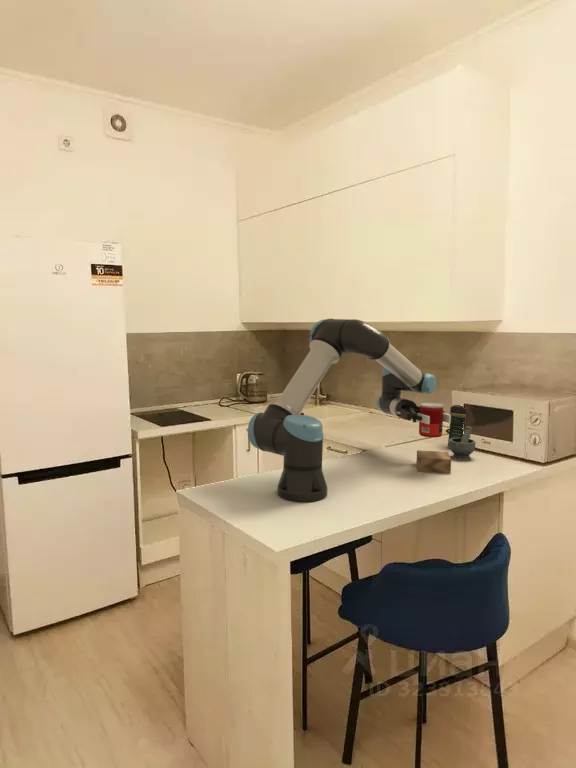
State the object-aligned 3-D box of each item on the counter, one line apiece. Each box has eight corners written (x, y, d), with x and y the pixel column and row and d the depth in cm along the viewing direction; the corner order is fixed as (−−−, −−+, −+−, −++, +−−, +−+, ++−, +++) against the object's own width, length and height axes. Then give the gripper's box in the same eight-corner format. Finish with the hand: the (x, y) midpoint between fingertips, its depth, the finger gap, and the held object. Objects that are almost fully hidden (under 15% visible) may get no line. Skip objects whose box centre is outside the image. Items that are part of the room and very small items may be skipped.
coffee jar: (464, 451, 220) (466, 406, 218) (445, 448, 225) (447, 404, 223) (472, 447, 228) (475, 403, 225) (454, 444, 233) (456, 401, 230)
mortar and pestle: (466, 462, 203) (468, 431, 201) (443, 457, 209) (445, 427, 208) (480, 457, 211) (481, 427, 209) (457, 452, 217) (459, 423, 216)
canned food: (444, 437, 187) (446, 406, 186) (421, 437, 187) (422, 406, 186) (438, 433, 195) (440, 402, 193) (416, 432, 195) (417, 402, 193)
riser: (418, 471, 190) (418, 457, 189) (416, 463, 200) (416, 450, 200) (450, 473, 188) (451, 459, 187) (447, 465, 198) (447, 451, 198)
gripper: (426, 416, 211) (463, 428, 190) (379, 419, 204) (412, 432, 183) (427, 397, 210) (465, 407, 189) (380, 400, 203) (413, 410, 182)
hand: (439, 419), depth 186 cm, fingers closed on canned food, 8 cm apart
